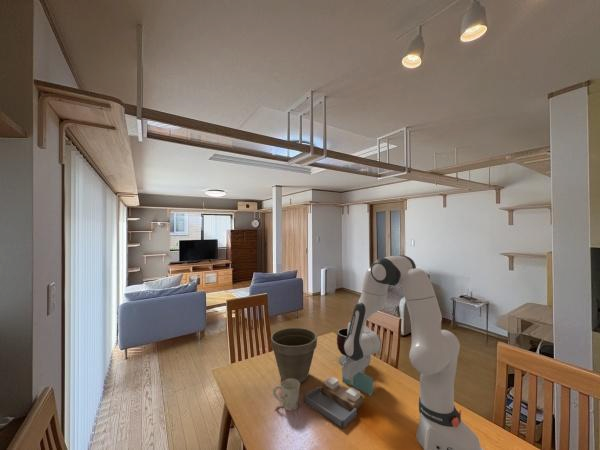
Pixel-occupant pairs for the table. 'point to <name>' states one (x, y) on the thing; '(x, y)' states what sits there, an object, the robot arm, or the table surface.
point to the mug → (289, 393)
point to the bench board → (341, 397)
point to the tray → (329, 408)
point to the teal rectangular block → (361, 383)
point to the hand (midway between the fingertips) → (357, 380)
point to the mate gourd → (342, 344)
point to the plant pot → (294, 352)
